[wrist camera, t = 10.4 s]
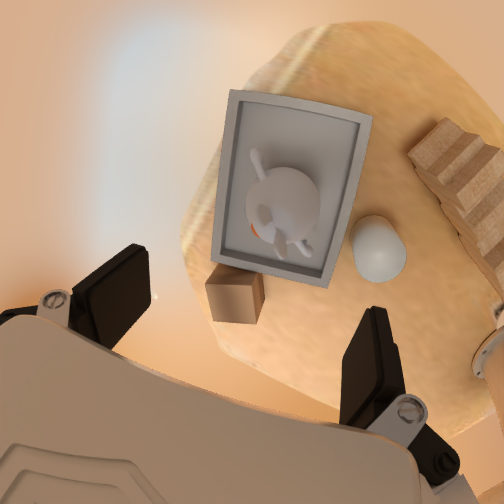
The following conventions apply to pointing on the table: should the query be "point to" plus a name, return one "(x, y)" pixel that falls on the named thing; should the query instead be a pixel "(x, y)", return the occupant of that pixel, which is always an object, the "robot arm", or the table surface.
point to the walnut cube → (235, 294)
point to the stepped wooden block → (467, 192)
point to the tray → (293, 156)
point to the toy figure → (281, 206)
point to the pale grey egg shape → (377, 249)
